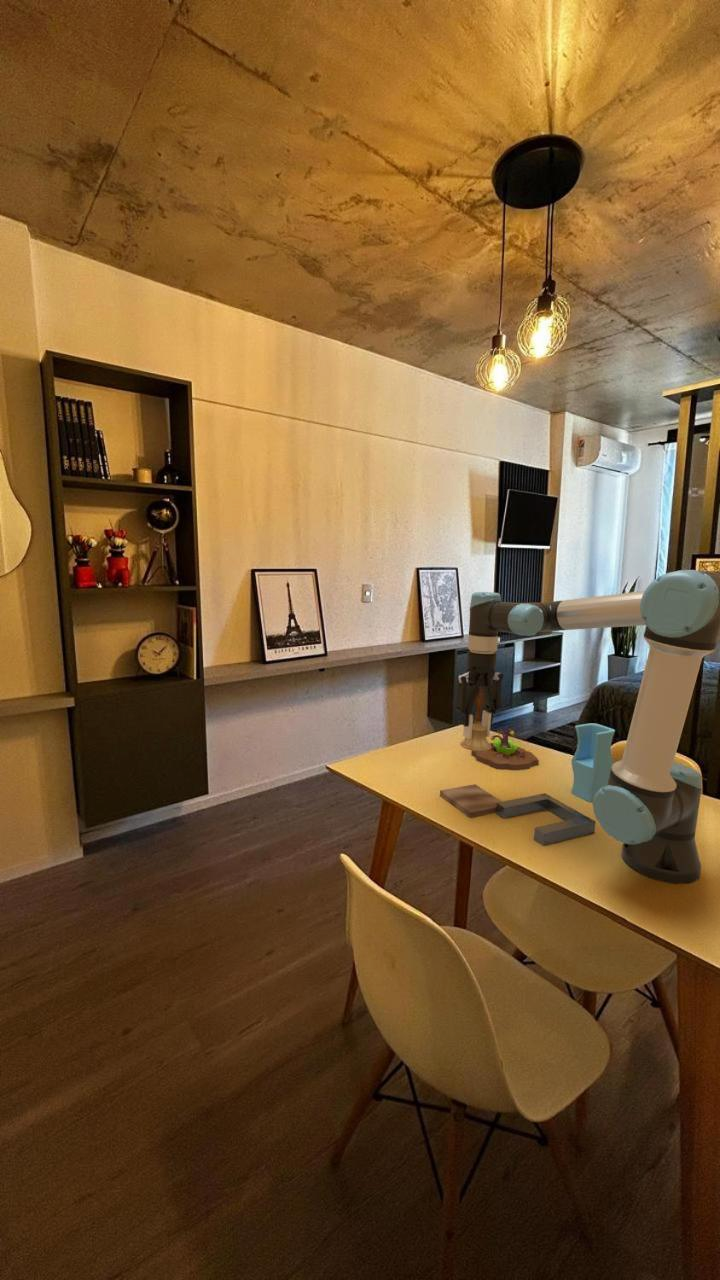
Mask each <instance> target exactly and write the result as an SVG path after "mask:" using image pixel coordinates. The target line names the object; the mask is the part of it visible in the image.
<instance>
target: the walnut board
mask: <svg viewBox="0 0 720 1280" xmlns="http://www.w3.org/2000/svg"><path fill="white" fill-rule="evenodd" d="M439 791H440V792H439V797H441V798H443V799H444V800H445V801H446V802H448V803H449V804H450V805H451V806H453V807H454V808H455V809H457V810H459V812H461V813H462V814H464V815H466V817H468V818H469V819H470V818H475V817H481V816H485V815H490V814H496V806H497V803H498V802H503V801H502V800H500V799H499V798H497V797H496V796H494V795H493V794H491V793H489V792H488V791H486V790H485V789H483V788H482V787H480V786H479V785H477V784H470V785H465V786H459V787H453V788H446V789H442V790H439Z"/></svg>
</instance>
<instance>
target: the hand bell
mask: <svg viewBox="0 0 720 1280" xmlns="http://www.w3.org/2000/svg"><path fill="white" fill-rule="evenodd" d="M473 706H474V708H475V709H474V710H475V712H474V713H475V715H474V720H473V721H474V722H473V724H472V739H468V738H466V737H464V739H462V740H461V741H460V743H459V745H460V746H461V747H462V748H463V749H466V750H469V751H488V750H490V749H491V745H490V742H489V741H488V737H487V736H486V731H485V727H484V726H482V712H483V708H484V707H485V703H484V693H483V689H482V687H479V690H478V691H477V693H476V696H475V700H474V703H473Z"/></svg>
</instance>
